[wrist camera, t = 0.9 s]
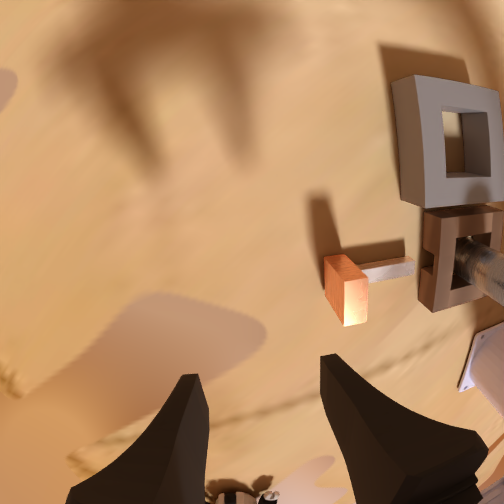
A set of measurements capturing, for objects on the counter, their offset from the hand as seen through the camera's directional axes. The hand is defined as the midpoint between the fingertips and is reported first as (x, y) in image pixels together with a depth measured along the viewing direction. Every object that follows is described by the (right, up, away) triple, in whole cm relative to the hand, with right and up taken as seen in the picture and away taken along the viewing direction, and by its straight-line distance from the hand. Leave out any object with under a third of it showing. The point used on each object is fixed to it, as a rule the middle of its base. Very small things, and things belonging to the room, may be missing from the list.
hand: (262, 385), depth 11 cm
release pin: (+7, +4, +9) cm, 12 cm away
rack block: (+13, +13, +7) cm, 20 cm away
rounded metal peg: (+16, +5, +9) cm, 19 cm away
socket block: (+16, +5, +9) cm, 19 cm away
